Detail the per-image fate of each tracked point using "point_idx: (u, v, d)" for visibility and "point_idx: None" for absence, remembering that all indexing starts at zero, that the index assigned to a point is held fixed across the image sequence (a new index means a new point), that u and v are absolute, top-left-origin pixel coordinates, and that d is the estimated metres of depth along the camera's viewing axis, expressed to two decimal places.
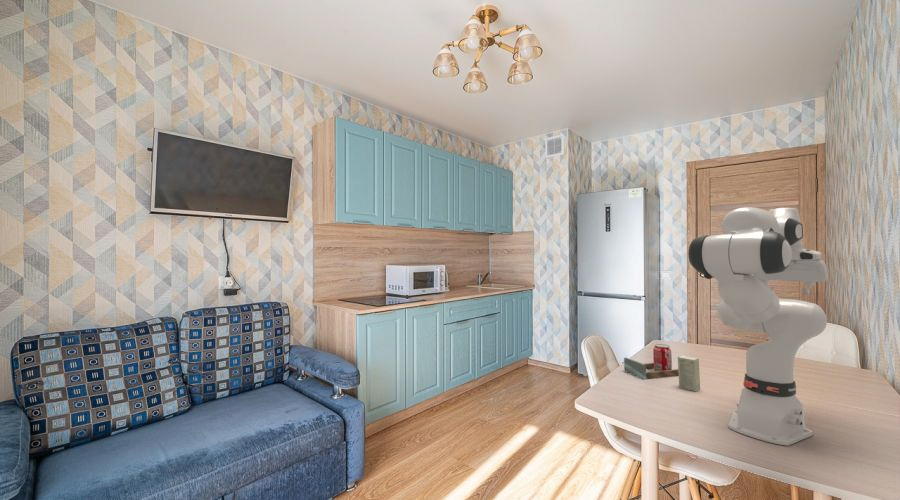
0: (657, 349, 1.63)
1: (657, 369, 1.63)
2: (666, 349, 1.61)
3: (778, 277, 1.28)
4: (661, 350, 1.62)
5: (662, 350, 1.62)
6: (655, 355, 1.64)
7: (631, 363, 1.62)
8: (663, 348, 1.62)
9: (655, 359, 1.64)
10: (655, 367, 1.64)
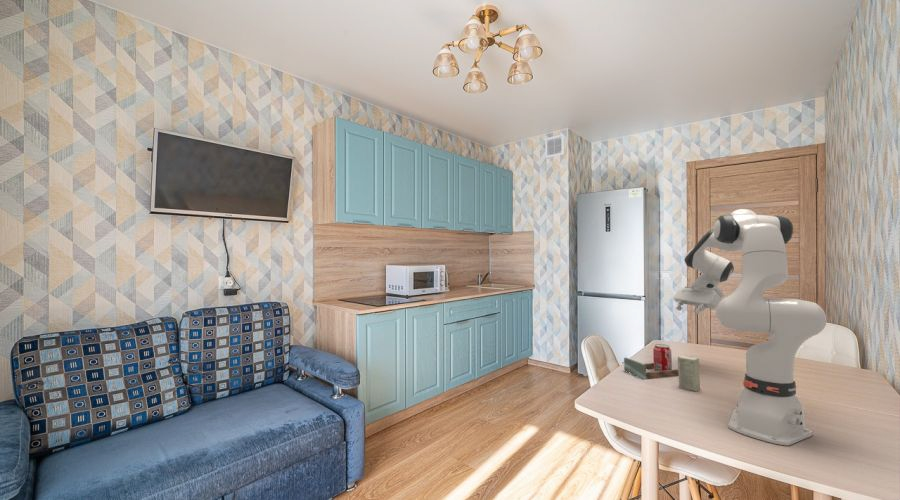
0: (657, 349, 1.63)
1: (657, 369, 1.63)
2: (666, 349, 1.61)
3: (687, 298, 1.70)
4: (661, 350, 1.62)
5: (662, 350, 1.62)
6: (655, 355, 1.64)
7: (631, 363, 1.62)
8: (663, 348, 1.62)
9: (655, 359, 1.64)
10: (655, 367, 1.64)
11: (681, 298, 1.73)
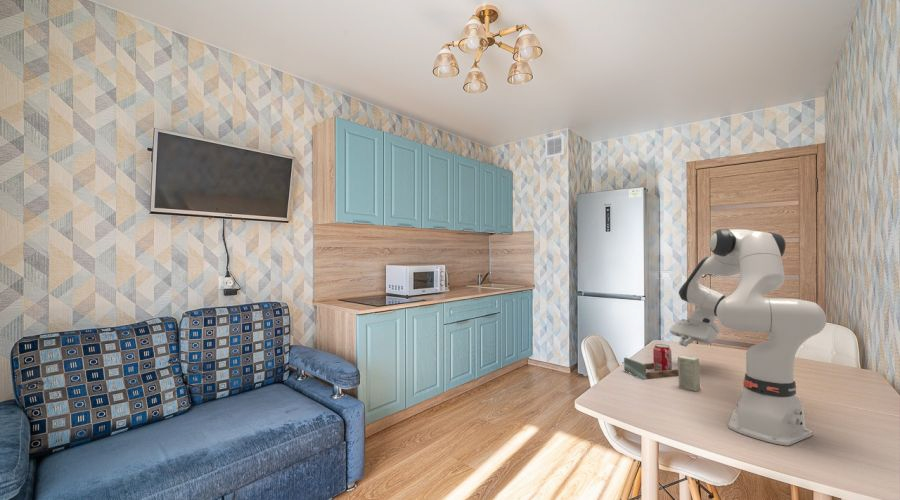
0: (658, 349, 1.63)
1: (657, 369, 1.63)
2: (666, 349, 1.61)
3: (684, 332, 1.70)
4: (661, 350, 1.62)
5: (662, 350, 1.62)
6: (655, 355, 1.64)
7: (631, 363, 1.62)
8: (663, 348, 1.62)
9: (655, 359, 1.64)
10: (655, 367, 1.64)
11: (677, 331, 1.73)
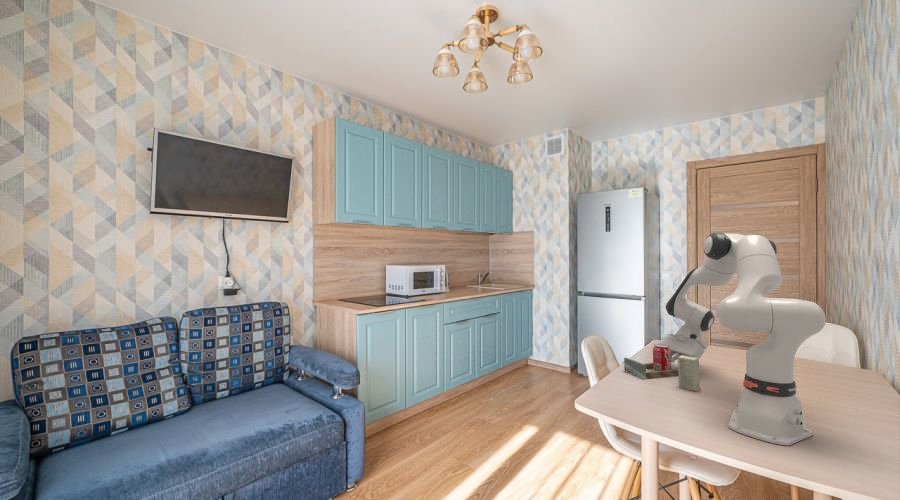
0: (657, 349, 1.63)
1: (657, 369, 1.63)
2: (666, 349, 1.61)
3: (671, 347, 1.68)
4: (661, 350, 1.62)
5: (662, 350, 1.62)
6: (655, 355, 1.64)
7: (631, 363, 1.62)
8: (663, 348, 1.62)
9: (655, 359, 1.64)
10: (655, 367, 1.64)
11: None
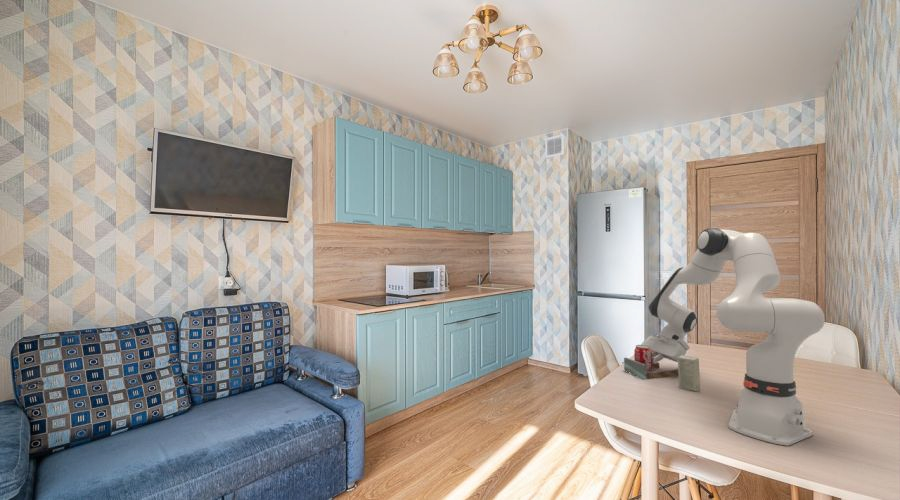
0: (637, 349, 1.62)
1: None
2: (645, 350, 1.60)
3: (653, 348, 1.65)
4: (639, 351, 1.61)
5: (640, 351, 1.61)
6: (635, 355, 1.63)
7: (631, 363, 1.62)
8: (642, 349, 1.61)
9: (635, 359, 1.63)
10: None
11: None
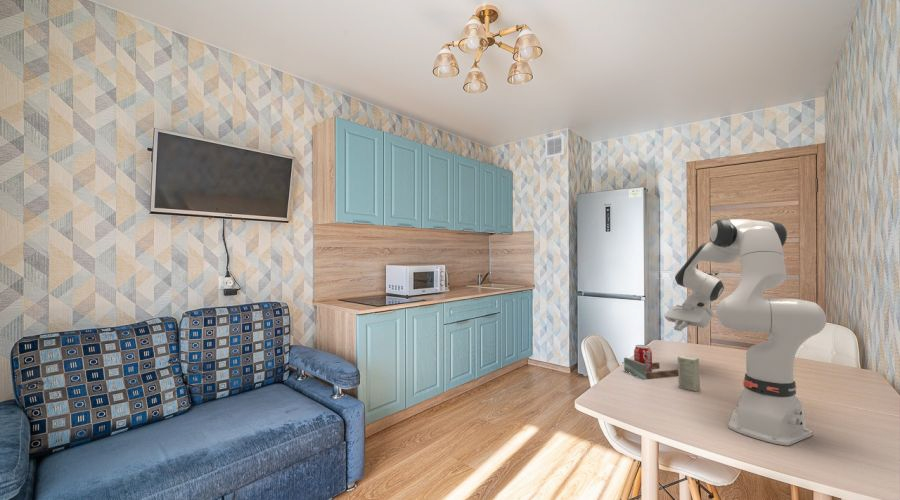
0: (636, 349, 1.62)
1: None
2: (644, 350, 1.60)
3: (678, 317, 1.69)
4: (639, 351, 1.61)
5: (640, 351, 1.61)
6: (634, 355, 1.63)
7: (631, 363, 1.62)
8: (641, 349, 1.61)
9: (634, 359, 1.63)
10: None
11: (672, 316, 1.72)
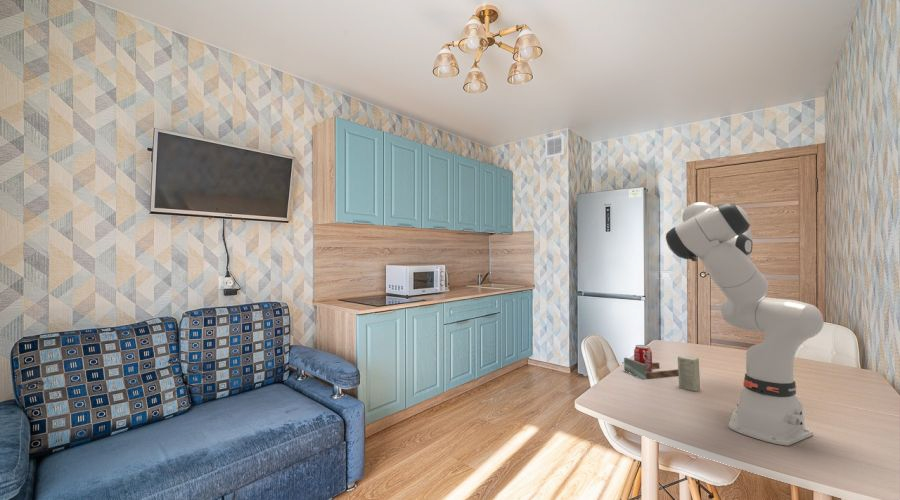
0: (636, 349, 1.62)
1: None
2: (644, 350, 1.60)
3: None
4: (639, 351, 1.61)
5: (640, 351, 1.61)
6: (634, 355, 1.63)
7: (631, 363, 1.62)
8: (641, 349, 1.61)
9: (634, 359, 1.63)
10: None
11: None
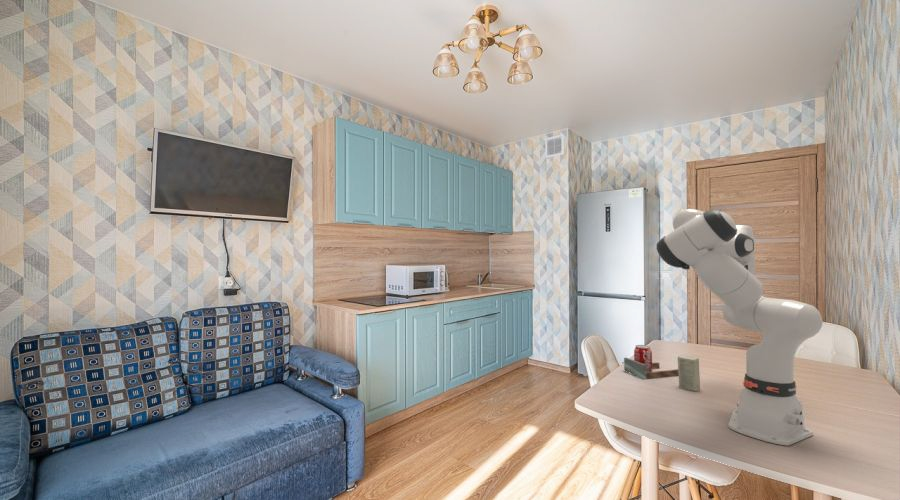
0: (636, 349, 1.62)
1: None
2: (644, 350, 1.60)
3: None
4: (639, 351, 1.61)
5: (640, 351, 1.61)
6: (634, 355, 1.63)
7: (631, 363, 1.62)
8: (641, 349, 1.61)
9: (634, 359, 1.63)
10: None
11: None
